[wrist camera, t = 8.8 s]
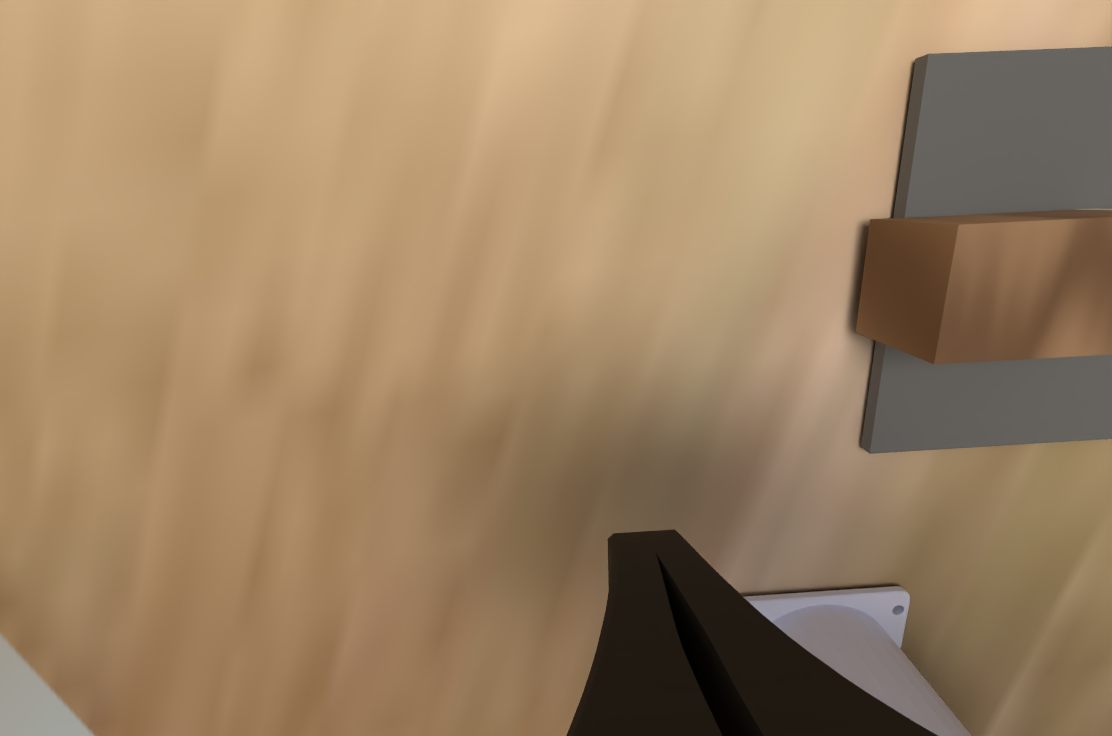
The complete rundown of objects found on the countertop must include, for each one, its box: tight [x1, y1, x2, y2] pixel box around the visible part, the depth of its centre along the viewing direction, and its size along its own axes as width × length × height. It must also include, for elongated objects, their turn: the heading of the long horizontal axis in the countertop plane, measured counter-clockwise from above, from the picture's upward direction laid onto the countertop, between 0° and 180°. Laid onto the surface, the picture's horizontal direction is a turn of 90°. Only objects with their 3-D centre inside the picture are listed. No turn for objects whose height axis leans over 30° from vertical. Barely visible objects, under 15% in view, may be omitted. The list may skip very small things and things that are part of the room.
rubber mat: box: [861, 47, 1112, 454], centre depth 20 cm, size 14×16×1 cm
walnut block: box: [856, 208, 1112, 364], centre depth 17 cm, size 4×4×8 cm
